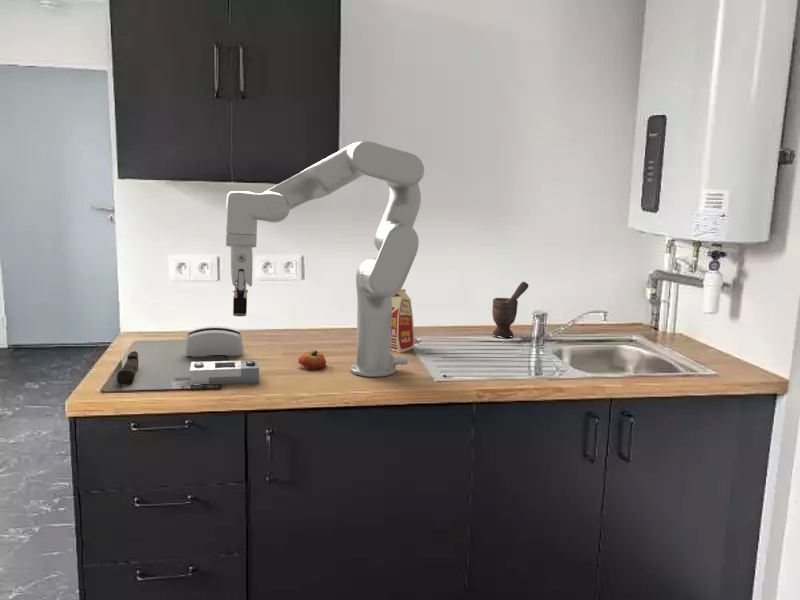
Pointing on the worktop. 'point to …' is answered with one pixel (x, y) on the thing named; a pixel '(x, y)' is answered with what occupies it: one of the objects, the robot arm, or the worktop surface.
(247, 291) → the pin
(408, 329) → the milk carton
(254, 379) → the grey latch plate
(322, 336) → the worktop surface
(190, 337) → the grey toaster
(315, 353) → the tomato
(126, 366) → the dark brown rounded rod
